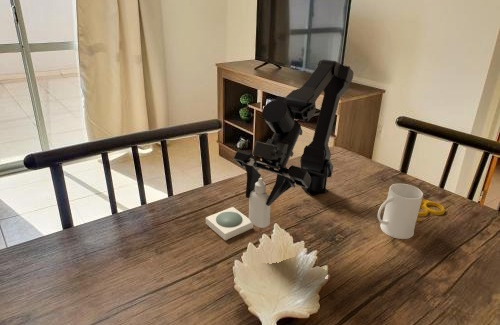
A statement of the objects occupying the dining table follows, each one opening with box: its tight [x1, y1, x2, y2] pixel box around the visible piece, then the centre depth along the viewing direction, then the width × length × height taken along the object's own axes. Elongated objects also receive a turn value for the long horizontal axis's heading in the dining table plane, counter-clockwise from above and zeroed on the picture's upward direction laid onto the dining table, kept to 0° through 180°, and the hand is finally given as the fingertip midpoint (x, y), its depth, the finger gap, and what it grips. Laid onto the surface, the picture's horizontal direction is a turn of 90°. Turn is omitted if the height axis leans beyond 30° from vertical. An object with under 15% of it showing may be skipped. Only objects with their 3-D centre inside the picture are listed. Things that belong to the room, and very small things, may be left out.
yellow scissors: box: [416, 198, 446, 222], centre depth 108 cm, size 17×2×10 cm
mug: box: [377, 183, 424, 240], centre depth 96 cm, size 12×8×12 cm
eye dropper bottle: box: [248, 177, 271, 229], centre depth 86 cm, size 4×6×12 cm
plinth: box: [205, 206, 254, 241], centre depth 98 cm, size 9×9×2 cm
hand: (256, 201), depth 85 cm, fingers closed on eye dropper bottle, 5 cm apart
